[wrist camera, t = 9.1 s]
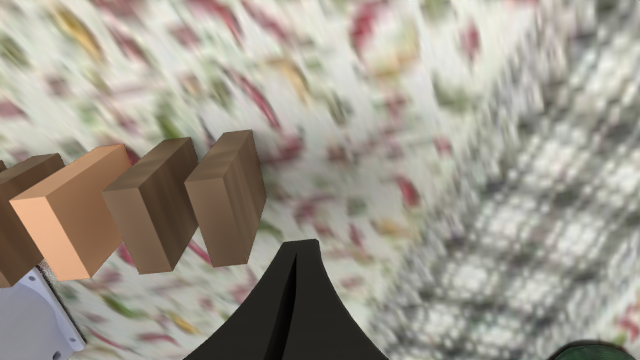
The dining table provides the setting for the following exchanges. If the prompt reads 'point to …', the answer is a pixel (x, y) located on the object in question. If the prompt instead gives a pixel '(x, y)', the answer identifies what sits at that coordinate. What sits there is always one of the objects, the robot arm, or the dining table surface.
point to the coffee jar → (593, 353)
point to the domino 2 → (75, 213)
